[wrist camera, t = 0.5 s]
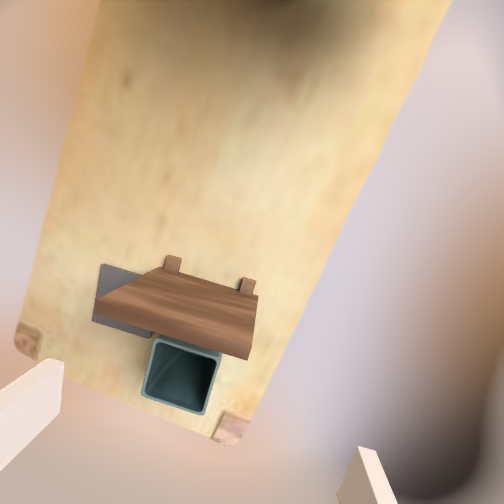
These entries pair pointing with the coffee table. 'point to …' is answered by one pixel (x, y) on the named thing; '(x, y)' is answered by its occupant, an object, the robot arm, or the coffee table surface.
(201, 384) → the flower pot
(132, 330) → the mat
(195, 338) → the screen
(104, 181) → the coffee table surface
